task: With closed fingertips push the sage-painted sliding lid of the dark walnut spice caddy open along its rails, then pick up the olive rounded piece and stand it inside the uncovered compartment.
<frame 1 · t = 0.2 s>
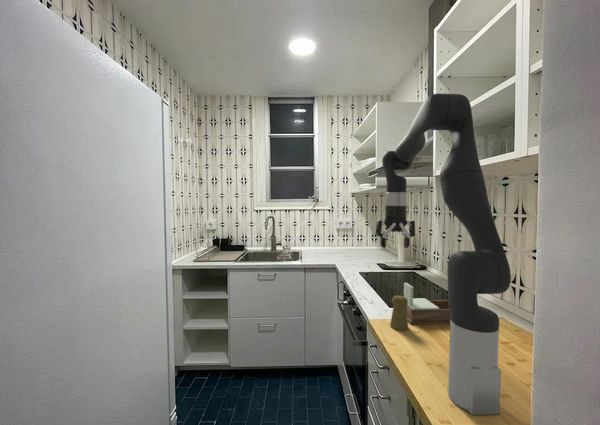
hand: (394, 247, 108), 27 cm above the worktop, fingers open, 8 cm apart
olive rounded piece: (399, 327, 102), on the worktop
lid: (419, 294, 110), point 9 cm above the worktop, slide at 0.0 cm
caddy: (418, 317, 110), on the worktop
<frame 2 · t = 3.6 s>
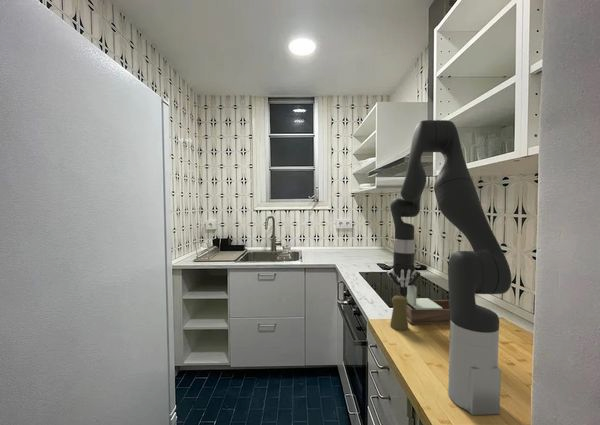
hand: (402, 295, 110), 9 cm above the worktop, fingers closed
lid: (422, 294, 110), point 9 cm above the worktop, slide at 1.3 cm, touching gripper
everything else where it was.
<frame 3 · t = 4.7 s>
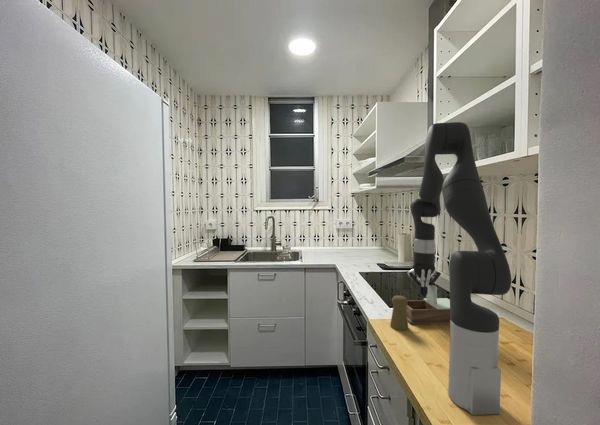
hand: (423, 295, 110), 9 cm above the worktop, fingers closed
lid: (442, 294, 111), point 9 cm above the worktop, slide at 9.2 cm, touching gripper
everything else where it was.
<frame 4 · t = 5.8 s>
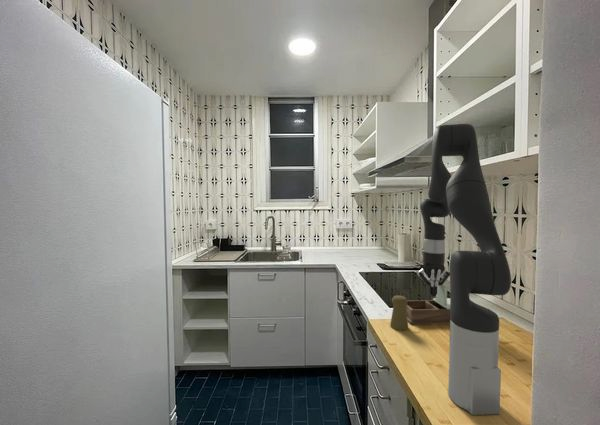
hand: (432, 295, 110), 9 cm above the worktop, fingers closed
lid: (452, 294, 111), point 9 cm above the worktop, slide at 13.0 cm, touching gripper
everything else where it was.
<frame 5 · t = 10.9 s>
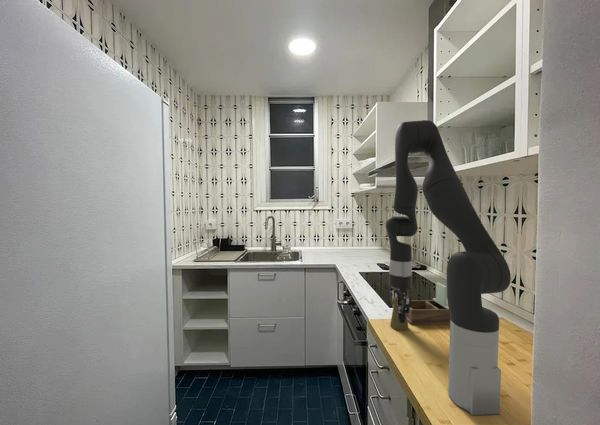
hand: (399, 320, 102), 2 cm above the worktop, fingers closed on olive rounded piece, 3 cm apart
olive rounded piece: (399, 327, 102), on the worktop, touching gripper
lid: (452, 294, 111), point 9 cm above the worktop, slide at 13.0 cm
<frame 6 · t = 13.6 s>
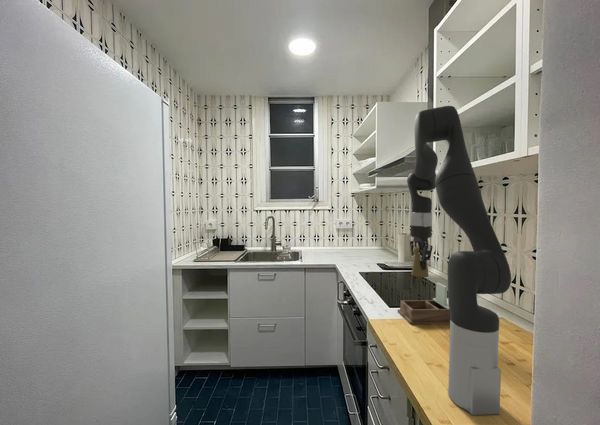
hand: (420, 269, 110), 19 cm above the worktop, fingers closed on olive rounded piece, 3 cm apart
olive rounded piece: (419, 275, 110), point 16 cm above the worktop, touching gripper
everything else where it was.
when the fingers open (5 cm above the worktop, at t = 16.5 s): olive rounded piece stays where it is, resting on caddy.
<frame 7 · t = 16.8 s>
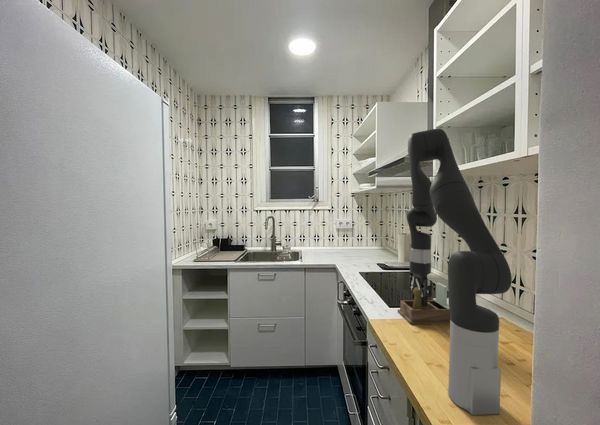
hand: (419, 302, 110), 6 cm above the worktop, fingers open, 7 cm apart
olive rounded piece: (419, 316, 109), point 1 cm above the worktop, touching caddy
everything else where it was.
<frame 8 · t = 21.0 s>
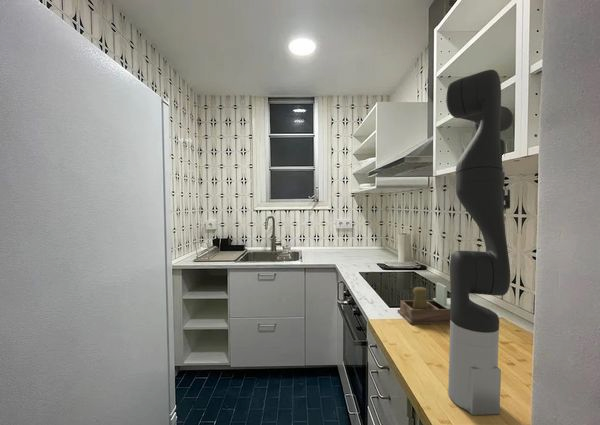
hand: (489, 221, 94), 38 cm above the worktop, fingers open, 8 cm apart
nothing on the worktop moved.
at the end: lid slide at 13.0 cm; olive rounded piece 1.1 cm off-centre on the caddy, point 0.8 cm above the caddy's base; olive rounded piece tilted 0° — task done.
